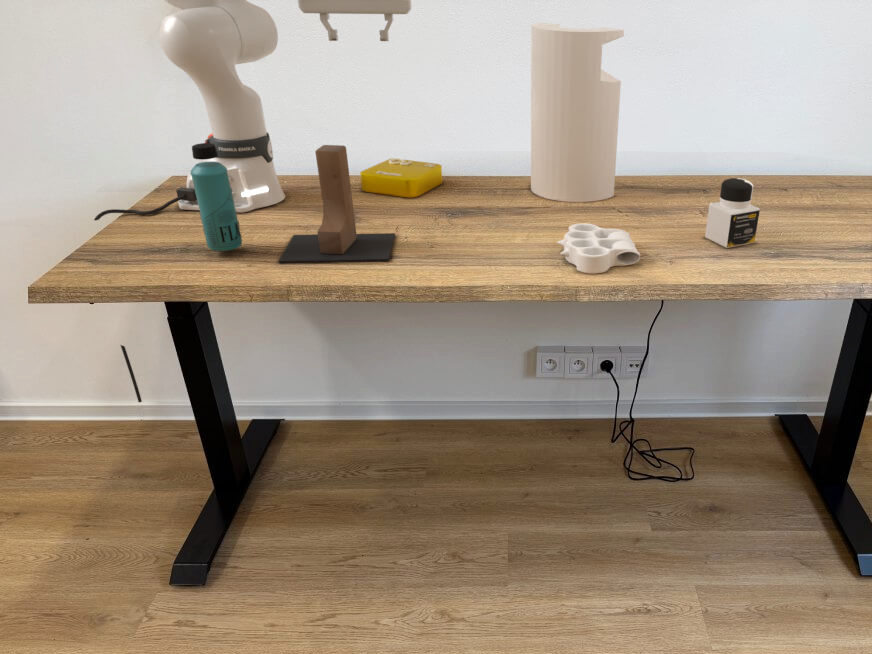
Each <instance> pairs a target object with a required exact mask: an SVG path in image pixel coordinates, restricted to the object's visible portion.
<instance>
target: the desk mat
mask: <svg viewBox="0 0 872 654" xmlns="http://www.w3.org/2000/svg"><path fill="white" fill-rule="evenodd" d="M356 234H357V239H356V240H355V241H354V242H353V243H352V244H351V246H350V247H349V248H348V249H347V250H346V251H345V252H344V253H343V254H323V253H321V252H320V247H319V240H318V234H293V235H292V237H291V239H290V241H289V242H288V244H287V245H286V247H285V249H284V251H283V253H282V254H281V256H280V258H279V259H278V263H279V264H313V263H315V264H316V263H317V264H319V263H365V262H366V263H371V262H374V263H375V262H389V261H390V257H391V253H392V249H393V245H394V241H395V238H396V233H394V232H393V233H392V232H391V233H389V232H388V233H387V232H386V233H385V232H383V233H356Z"/></svg>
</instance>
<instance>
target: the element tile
mask: <svg viewBox="0 0 872 654" xmlns="http://www.w3.org/2000/svg"><path fill="white" fill-rule="evenodd" d="M442 167H443V166H442V165H441V164H440V163H434V162H427V161H418V160H410V159H403V158H400V157H399V158H397V157H396V158H393V157H392V158H389V159H386V160H383V161H381V162H379V163H378V164H375V165H373V166H371V167H368V168H366V169H364V170H362V171H360V174H359V175H360V184H361V190H362V191H363V192H365V193H371V194H378V195H384V196H385V195H386V196H391V197H399V198H406V199H407V198H408V199H412V198H413V199H414V198H418V197H420V196H422V195H424V194H426V193H427V192H429V191H431V190H433V189H435V188H436V187H438V186H440V185H442V183H443V168H442Z"/></svg>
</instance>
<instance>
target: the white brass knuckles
mask: <svg viewBox="0 0 872 654" xmlns="http://www.w3.org/2000/svg"><path fill="white" fill-rule="evenodd" d="M556 244H558V245H560V246H562V247H563V250H562V251H561V252H560V253H559V254H560V255H561V256H564V257H565V260H566V261H567V262H568V263H569V264H571V265H574V266H575V267H576V270H577V271H578V272H579V273H583V274H588V275H589V274H591V275H592V274H593V275H596V274H603V273H605V272H607V271H608V270H609V269H610V268H613V267H625V266H631V265H634V264H636V263H638V262H639V261H640V260H641V253H640V252H639V251H638V249H637V248H636V243H635V242H633V240H632V238H631V233H630V232H627V231H626V230H624V229H621V228H604V227H600V226H598V225H596V224H593V223H586V222H585V223H583V222H581V223H573V224H571V225H569V226H568V232H565V234H564V236H563V239H561V240H558V241H556Z"/></svg>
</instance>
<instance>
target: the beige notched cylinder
mask: <svg viewBox="0 0 872 654" xmlns="http://www.w3.org/2000/svg"><path fill="white" fill-rule="evenodd" d="M624 34H625V29H620V28H609V27H608V28H607V27H599V28H598V27H597V28H568V27H561V26H560V24H558V23H549V22H547V23H546V22H536V23H533V24H531V36H530V37H531V38H530V39H531V41H530V42H531V47H530V50H531V51H530V52H531V55H530V57H531V59H530V60H531V64H530V67H531V68H530V70H531V71H530V80H531V81H530V92H531V93H530V103H531V104H530V107H531V108H530V191H531V192H532V193H533V194H535V196H538V197H541V198H544V199H546V200H547V199H548V200H551V201H552V200H553V201H557V202H558V201H559V202H567V203H568V202H570V203H586V202H587V203H588V202H598V201H603V200H607V199H610V198H612V197H614V195H615V183H616V182H615V181H616V166H617V151H618V150H617V149H618V134H619V133H618V132H619V118H620V117H619V116H620V101H621V83H622V82H621V81H622V80H619V79H618V78H617V77H616V76H613V75H612V74H610V73H608V72H607V71H606V70H604V69H602V59H603V46H604V45H606V44H609V43H610V42H613V41H615V40H618V39H621V38H623V37H624Z"/></svg>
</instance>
